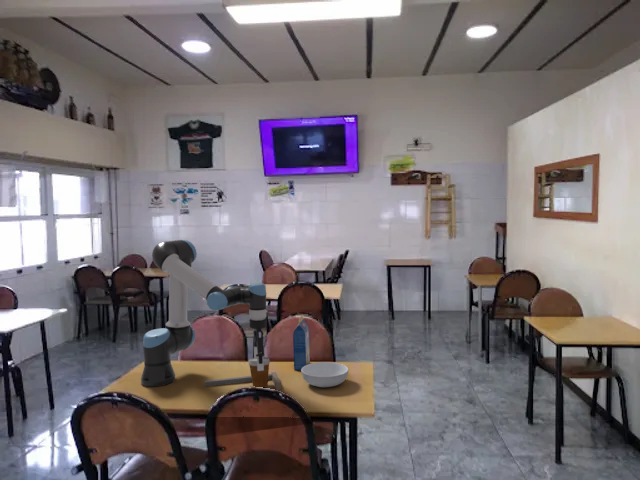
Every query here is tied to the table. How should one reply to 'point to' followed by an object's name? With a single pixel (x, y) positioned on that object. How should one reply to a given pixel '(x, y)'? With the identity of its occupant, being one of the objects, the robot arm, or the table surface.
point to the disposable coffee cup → (259, 373)
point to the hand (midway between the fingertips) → (258, 365)
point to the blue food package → (301, 345)
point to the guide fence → (243, 380)
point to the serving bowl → (324, 374)
